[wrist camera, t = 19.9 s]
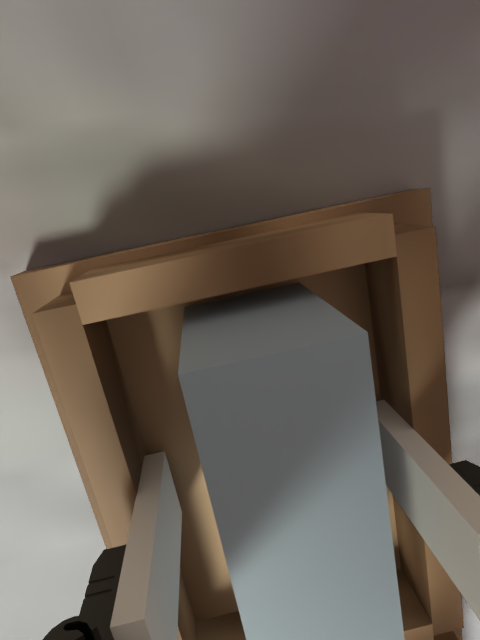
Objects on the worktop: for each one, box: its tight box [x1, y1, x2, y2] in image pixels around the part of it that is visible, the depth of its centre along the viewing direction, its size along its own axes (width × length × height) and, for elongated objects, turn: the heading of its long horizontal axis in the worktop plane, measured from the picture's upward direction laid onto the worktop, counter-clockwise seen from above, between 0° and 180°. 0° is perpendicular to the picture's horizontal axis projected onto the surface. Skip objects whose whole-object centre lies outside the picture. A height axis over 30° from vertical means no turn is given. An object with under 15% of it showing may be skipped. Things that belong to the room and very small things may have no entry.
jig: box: [11, 188, 464, 640], centre depth 17 cm, size 14×30×4 cm, turn 11°
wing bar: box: [178, 282, 405, 640], centre depth 13 cm, size 4×12×6 cm, turn 11°
